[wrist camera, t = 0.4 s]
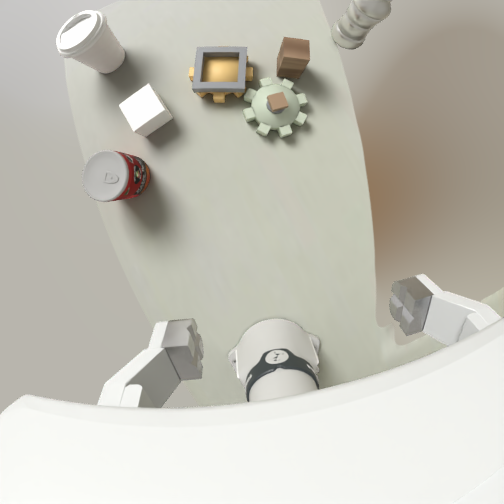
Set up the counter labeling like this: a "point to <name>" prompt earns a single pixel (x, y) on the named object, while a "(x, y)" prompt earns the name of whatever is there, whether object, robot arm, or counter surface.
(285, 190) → the counter surface
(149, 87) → the white cube
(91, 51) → the coffee cup
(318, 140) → the counter surface
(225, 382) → the counter surface
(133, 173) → the canned food
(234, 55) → the frame
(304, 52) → the peg
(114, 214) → the counter surface
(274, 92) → the gear
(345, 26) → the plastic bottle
